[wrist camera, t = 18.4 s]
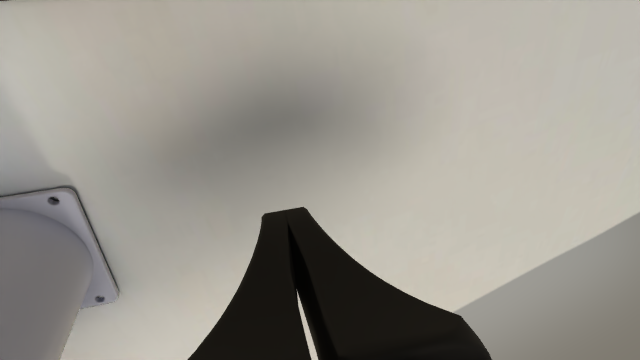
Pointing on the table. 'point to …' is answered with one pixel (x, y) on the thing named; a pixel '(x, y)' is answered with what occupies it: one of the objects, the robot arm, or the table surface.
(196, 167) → the table surface
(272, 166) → the table surface
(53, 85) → the table surface
